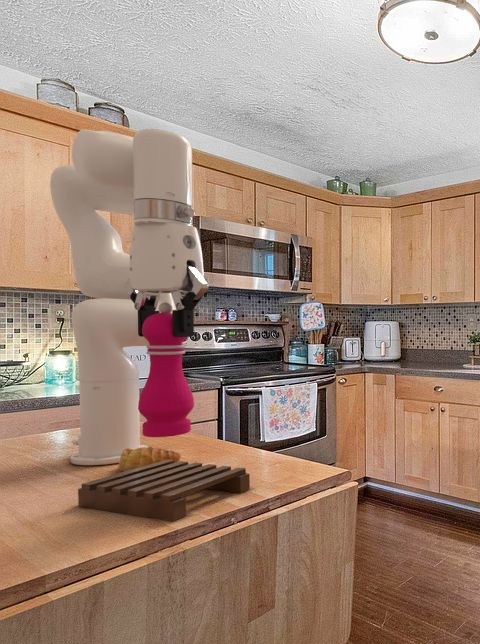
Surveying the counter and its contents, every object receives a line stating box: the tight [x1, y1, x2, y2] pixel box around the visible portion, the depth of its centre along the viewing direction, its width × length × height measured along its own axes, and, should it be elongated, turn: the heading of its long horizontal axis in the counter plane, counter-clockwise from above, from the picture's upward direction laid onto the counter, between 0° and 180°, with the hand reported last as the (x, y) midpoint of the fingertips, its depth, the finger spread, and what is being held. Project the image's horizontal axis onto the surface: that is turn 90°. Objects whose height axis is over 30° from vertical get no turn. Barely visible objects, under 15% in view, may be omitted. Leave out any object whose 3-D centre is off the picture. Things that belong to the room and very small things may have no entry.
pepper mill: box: [138, 302, 195, 438], centre depth 76 cm, size 7×7×20 cm
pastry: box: [117, 446, 181, 472], centre depth 92 cm, size 9×7×4 cm
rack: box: [77, 460, 251, 522], centre depth 76 cm, size 18×14×3 cm
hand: (166, 335), depth 75 cm, fingers closed on pepper mill, 6 cm apart
